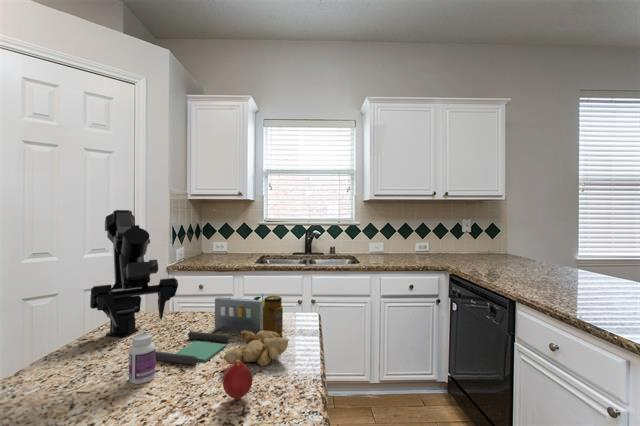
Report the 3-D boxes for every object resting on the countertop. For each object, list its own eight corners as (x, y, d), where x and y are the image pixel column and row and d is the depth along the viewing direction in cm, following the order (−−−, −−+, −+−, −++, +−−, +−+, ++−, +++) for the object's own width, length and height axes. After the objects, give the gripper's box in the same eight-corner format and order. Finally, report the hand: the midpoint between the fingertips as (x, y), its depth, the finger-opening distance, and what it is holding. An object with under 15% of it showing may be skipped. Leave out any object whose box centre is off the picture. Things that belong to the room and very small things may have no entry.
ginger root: (293, 340, 93) (291, 315, 91) (286, 381, 77) (284, 351, 76) (239, 341, 93) (237, 316, 92) (222, 382, 78) (218, 353, 76)
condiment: (279, 331, 104) (280, 293, 104) (289, 340, 96) (289, 300, 96) (257, 334, 101) (257, 296, 101) (265, 344, 93) (265, 302, 93)
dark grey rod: (188, 339, 97) (188, 332, 97) (192, 336, 99) (192, 330, 99) (227, 343, 94) (227, 336, 94) (230, 341, 95) (230, 334, 96)
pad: (171, 357, 84) (171, 355, 84) (195, 343, 94) (195, 341, 94) (205, 362, 82) (205, 359, 82) (226, 346, 91) (226, 344, 91)
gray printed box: (213, 330, 104) (213, 299, 104) (218, 327, 107) (218, 297, 107) (258, 335, 100) (258, 302, 100) (262, 331, 103) (262, 300, 103)
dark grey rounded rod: (150, 360, 82) (150, 352, 82) (156, 357, 84) (156, 349, 84) (194, 366, 79) (195, 358, 79) (199, 363, 81) (199, 355, 81)
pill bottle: (160, 373, 76) (160, 332, 76) (146, 385, 70) (146, 341, 70) (138, 372, 76) (139, 331, 76) (122, 384, 71) (123, 340, 71)
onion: (226, 392, 68) (226, 353, 68) (253, 390, 68) (254, 353, 68) (219, 408, 62) (220, 366, 62) (250, 407, 62) (250, 365, 63)
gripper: (91, 251, 75) (93, 310, 66) (176, 247, 86) (188, 296, 77) (89, 280, 81) (91, 337, 72) (169, 272, 92) (179, 321, 84)
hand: (140, 322), depth 76 cm, fingers open, 9 cm apart
